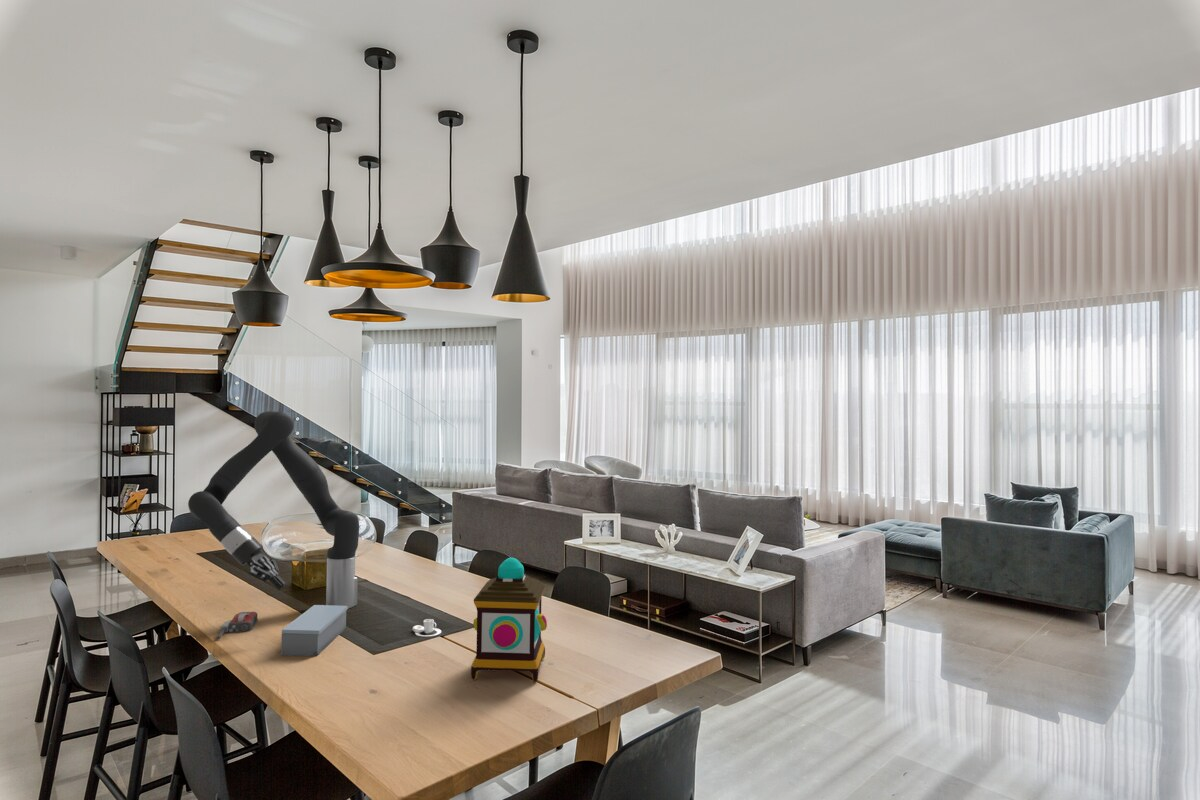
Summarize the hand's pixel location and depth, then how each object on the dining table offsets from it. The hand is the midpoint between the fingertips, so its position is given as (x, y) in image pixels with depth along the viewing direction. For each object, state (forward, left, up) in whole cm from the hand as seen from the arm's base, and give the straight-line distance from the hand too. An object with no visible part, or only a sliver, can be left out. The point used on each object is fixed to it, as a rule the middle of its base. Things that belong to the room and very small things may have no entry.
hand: (282, 587), depth 207 cm
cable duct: (-6, +8, -16) cm, 19 cm away
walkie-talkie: (+4, -20, -16) cm, 26 cm away
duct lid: (-6, +8, -10) cm, 14 cm away
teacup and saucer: (-35, +24, -17) cm, 45 cm away
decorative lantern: (-28, +67, -16) cm, 74 cm away
